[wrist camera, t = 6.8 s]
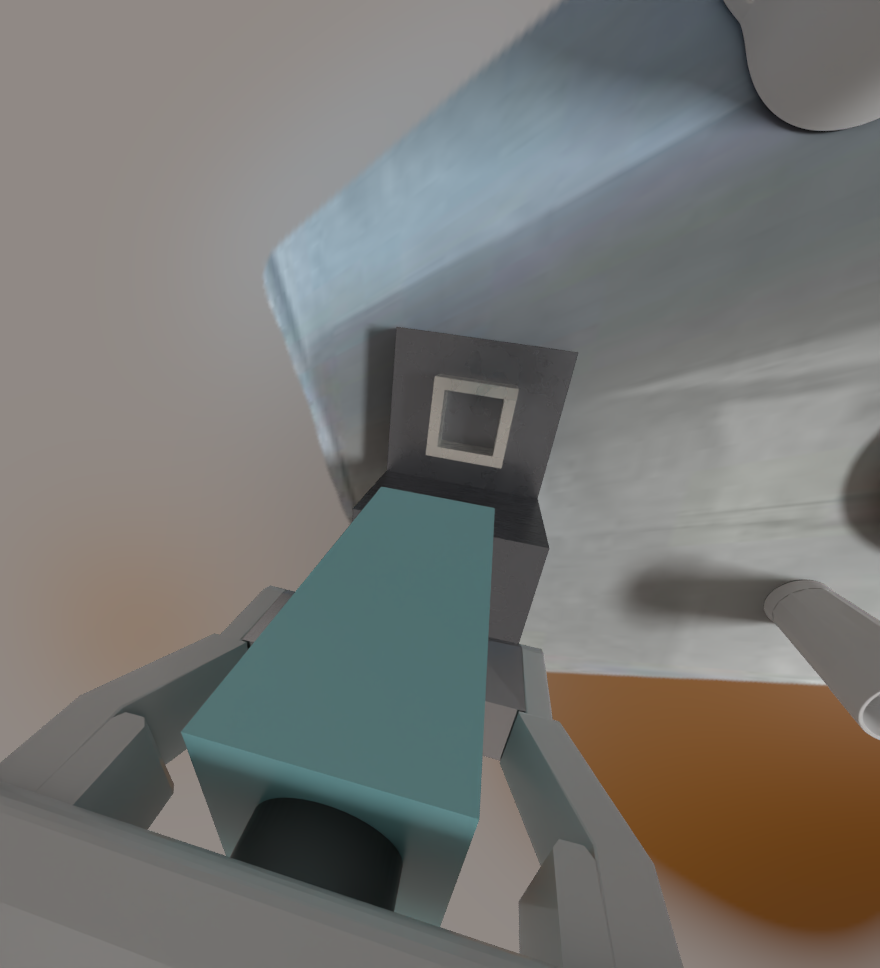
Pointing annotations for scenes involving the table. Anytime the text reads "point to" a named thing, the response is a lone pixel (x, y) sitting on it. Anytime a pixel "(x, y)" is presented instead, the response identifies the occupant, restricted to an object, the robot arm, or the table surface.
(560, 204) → the table surface
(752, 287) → the table surface
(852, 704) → the cup
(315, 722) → the plug
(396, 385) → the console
